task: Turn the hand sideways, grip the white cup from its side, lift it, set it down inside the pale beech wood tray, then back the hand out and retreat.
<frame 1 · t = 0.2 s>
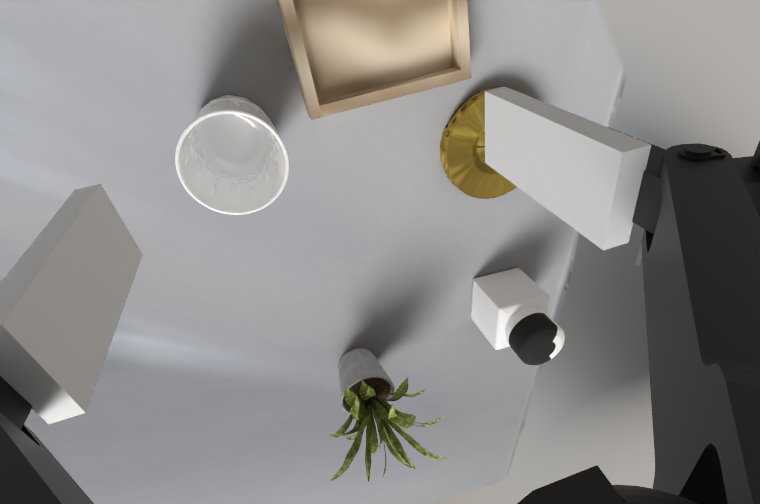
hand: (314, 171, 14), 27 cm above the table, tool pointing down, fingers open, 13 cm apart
white cup: (234, 132, 39), on the table
gold notched disc: (486, 141, 48), on the table
tray: (370, 0, 37), on the table
house plant: (365, 358, 58), on the table
medicine bottle: (493, 291, 59), on the table
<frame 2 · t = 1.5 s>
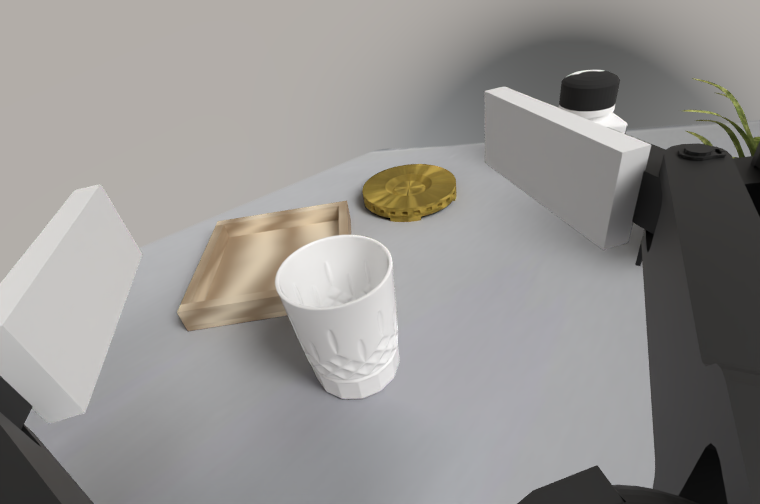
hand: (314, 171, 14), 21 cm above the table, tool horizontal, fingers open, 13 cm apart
white cup: (358, 365, 34), on the table
gold notched disc: (410, 200, 55), on the table
tray: (280, 266, 46), on the table
house plant: (720, 256, 38), on the table
medicine bottle: (575, 171, 54), on the table
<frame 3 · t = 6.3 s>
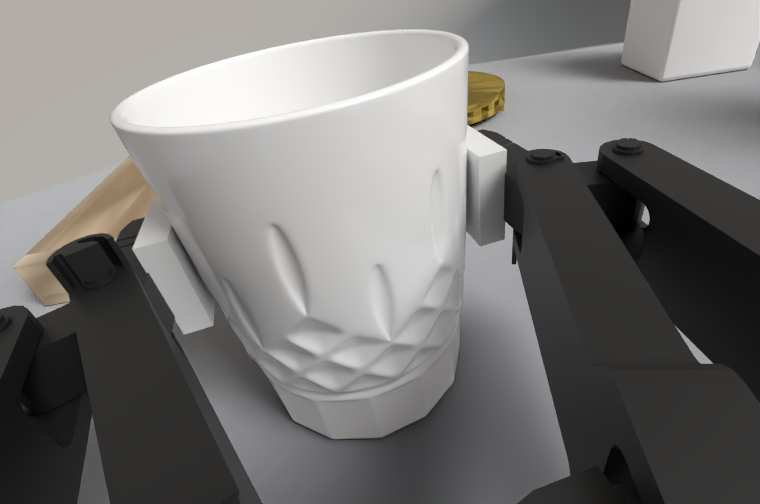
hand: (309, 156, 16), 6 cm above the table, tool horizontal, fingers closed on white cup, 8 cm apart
white cup: (367, 359, 15), on the table, touching gripper
gold notched disc: (433, 118, 37), on the table
tray: (230, 203, 28), on the table
medicine bottle: (679, 69, 37), on the table
when the fingers open (8 cm above the table, at t = 11.5 s): white cup drops 1 cm, resting on tray.
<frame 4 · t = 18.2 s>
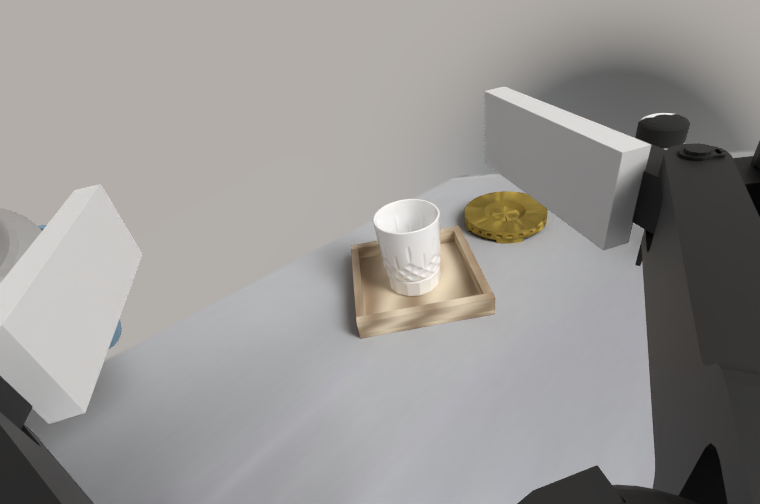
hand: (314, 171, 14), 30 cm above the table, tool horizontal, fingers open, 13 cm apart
white cup: (414, 281, 55), resting on tray
gold notched disc: (504, 223, 64), on the table
tray: (415, 283, 55), on the table
medicine bottle: (645, 195, 64), on the table
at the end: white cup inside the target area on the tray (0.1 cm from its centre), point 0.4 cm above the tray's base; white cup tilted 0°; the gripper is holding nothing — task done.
